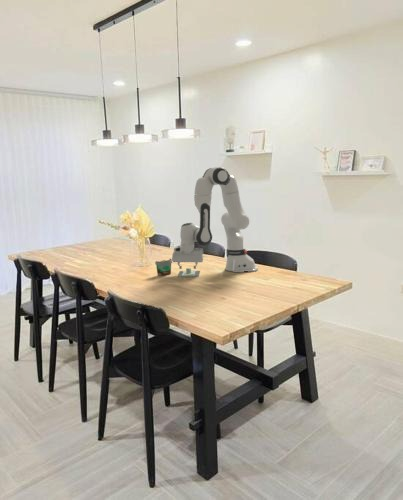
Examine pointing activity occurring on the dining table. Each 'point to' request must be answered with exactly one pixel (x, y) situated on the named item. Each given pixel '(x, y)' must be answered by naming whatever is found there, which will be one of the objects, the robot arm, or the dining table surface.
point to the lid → (188, 272)
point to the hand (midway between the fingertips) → (187, 268)
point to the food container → (163, 267)
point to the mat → (192, 276)
